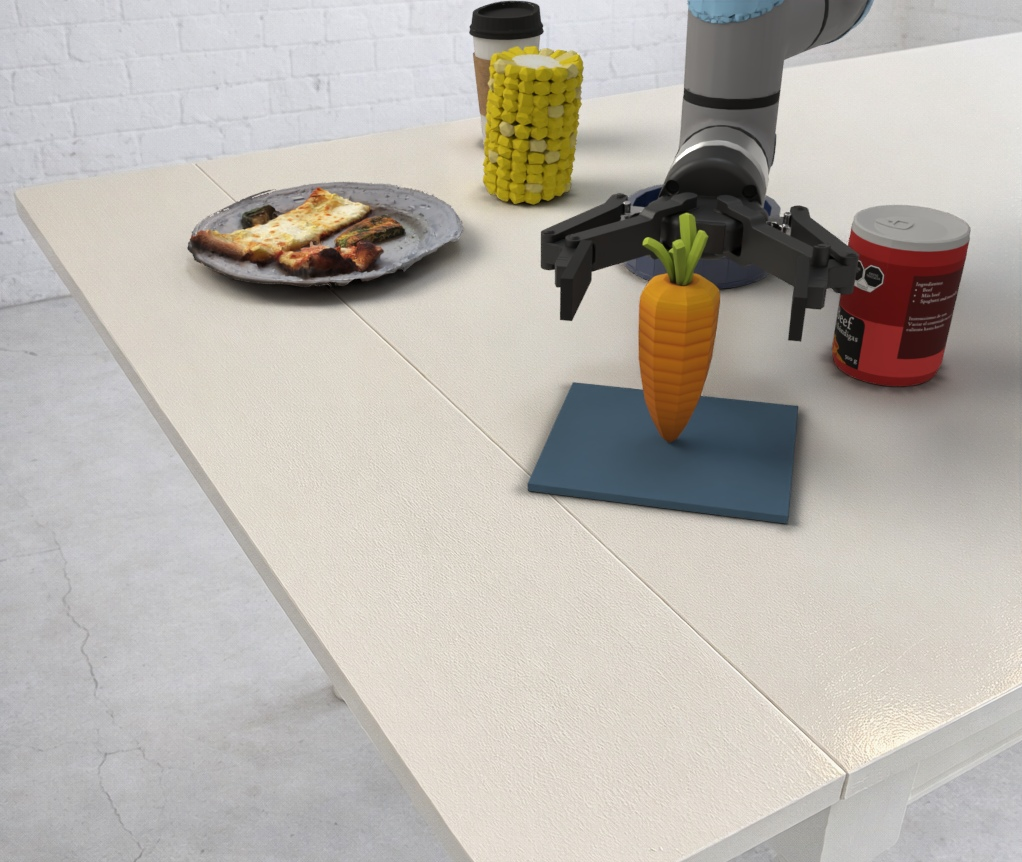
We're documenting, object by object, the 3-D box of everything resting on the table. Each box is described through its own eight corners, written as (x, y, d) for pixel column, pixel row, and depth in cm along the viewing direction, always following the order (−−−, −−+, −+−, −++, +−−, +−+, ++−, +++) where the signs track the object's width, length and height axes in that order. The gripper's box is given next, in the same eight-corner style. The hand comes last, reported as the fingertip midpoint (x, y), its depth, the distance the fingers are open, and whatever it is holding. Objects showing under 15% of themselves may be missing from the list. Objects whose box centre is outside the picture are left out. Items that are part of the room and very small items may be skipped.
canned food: (835, 336, 89) (857, 199, 82) (941, 350, 86) (972, 210, 80) (823, 379, 83) (847, 234, 76) (938, 395, 80) (971, 247, 74)
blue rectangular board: (797, 413, 79) (798, 405, 78) (787, 524, 67) (788, 516, 67) (572, 389, 82) (572, 381, 82) (527, 491, 71) (527, 483, 70)
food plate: (319, 327, 91) (314, 286, 89) (139, 264, 103) (131, 226, 101) (506, 236, 108) (506, 200, 106) (332, 191, 120) (329, 158, 118)
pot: (777, 239, 106) (784, 186, 104) (768, 295, 95) (775, 238, 93) (634, 228, 109) (637, 177, 106) (610, 282, 98) (612, 226, 95)
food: (514, 188, 125) (589, 210, 120) (447, 191, 116) (525, 216, 111) (537, 40, 118) (618, 58, 113) (469, 32, 109) (553, 51, 104)
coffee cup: (556, 139, 134) (558, 4, 126) (518, 158, 129) (516, 16, 120) (498, 129, 138) (496, -3, 130) (458, 146, 132) (453, 9, 124)
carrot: (677, 470, 71) (696, 242, 63) (616, 443, 74) (626, 222, 66) (722, 440, 74) (745, 219, 66) (661, 415, 77) (676, 200, 69)
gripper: (880, 255, 83) (888, 387, 66) (549, 231, 88) (477, 348, 71) (898, 153, 79) (912, 265, 62) (549, 134, 84) (473, 232, 67)
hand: (679, 309), depth 66 cm, fingers open, 13 cm apart
